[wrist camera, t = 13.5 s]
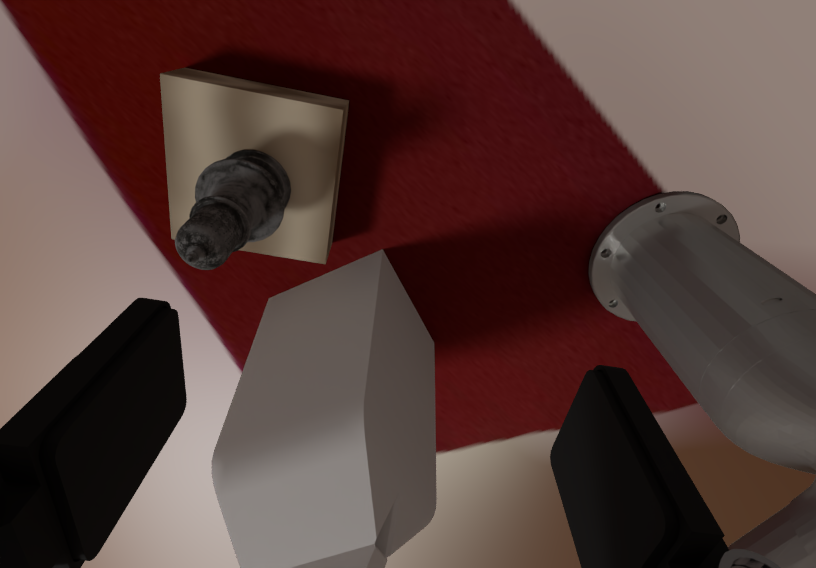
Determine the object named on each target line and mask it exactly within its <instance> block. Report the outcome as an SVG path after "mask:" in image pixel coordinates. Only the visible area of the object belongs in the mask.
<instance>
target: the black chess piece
mask: <svg viewBox="0 0 816 568" xmlns="http://www.w3.org/2000/svg"><path fill="white" fill-rule="evenodd" d="M290 194H291V185H290V180H289V177H288V175H287V173H286V171H285V170H284V168H283V167H282V165H281V164H280V163H279V162H278V161H277V160H275V159H274V158H273V157H272V156H270V155H268V154H266V153H264V152H261V151H257V150H240V151H237V152H234V153H233V154H231V155H230V156H228V157H227V158H226V159H223V160H220V161H216V162H214V163H212V164H211V165H209V166H208V167H206V168H205V169H204V170H203V172H202V173H201V174H200V176H199V177H198V180H197V183H196V186H195V200H196V203H195V204H194V206H193V207H192V208H191V211H190V214H189V219H188V220H187V221H186V222H185V223H184V224H183V225H182V226H181V227H180V229H179V230H178V232H177V235H176V238H175V246H176V249H177V252H178V253H179V255H180V257H181V258H182V259H183V260H184V261H185V262H186V263H188V264H189V265H191V266H193V267H195V268H198V269H203V270H211V269H215V268H217V267H218V266H220V265H222V264H223V263H224V262H225V261H226V260H227V258H228V257H229V256H230V254H231V253H232V252H234V251H238V250H239V249H241V248H243V247H244V246H245V244H246V243H247V242H256V241H260V240H264V239H265V238H267V237H269V236H270V235H272V234H273V233H274V232H275V231H276V230H277V229H278V228H279V226H280V224H281V222H282V219H283V217H284V209H285V207H286V206H287V204H288V202H289V199H290Z"/></svg>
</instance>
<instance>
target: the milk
mask: <svg viewBox="0 0 816 568" xmlns="http://www.w3.org/2000/svg"><path fill="white" fill-rule="evenodd" d="M212 478H213V484H214V488H215V491H216V495H217V498H218V501H219V505H220V508H221V510H222V514H223V517H224V520H225V523H226V526H227V529H228V532H229V535H230V538H231V541H232V544H233V547H234V550H235V553H236V556H237V559H238V563H239V565H240V568H384V567H385V565H386V562H387V558H386V557H388V556H390V555H391V554H393V553H394V552H395V551H396V550H397V549H399V548H400V547H401V546H402V545H403V544H405V543H406V542H407V541H409V540H410V539H411V538H412V537H413V536H415V535H416V534H417V533H418V532H420V531H421V530H422V529H423V528H424V527H426V526H427V525H428V524H429V522H430V521H431V520H432V518H433V516H434V513H435V509H436V433H435V357H434V341H433V340H432V338H431V336H430V334H429V332H428V331H427V329H426V327H425V325H424V323H423V322H422V320H421V318H420V316H419V314H418V312H417V311H416V309H415V307H414V305H413V303H412V302H411V300H410V298H409V296H408V294H407V293H406V291H405V289H404V287H403V285H402V283H401V282H400V280H399V278H398V276H397V274H396V273H395V271H394V269H393V267H392V265H391V264H390V262H389V260H388V258H387V256H386V254H385V253H384V251H383V249H382V250H380V251H378V252H375V253H373V254H371V255H368V256H366V257H364V258H361V259H359V260H357V261H355V262H352V263H350V264H348V265H345V266H343V267H341V268H338V269H336V270H334V271H331V272H329V273H327V274H324V275H322V276H320V277H317V278H315V279H313V280H311V281H308V282H306V283H304V284H301V285H299V286H297V287H294V288H292V289H290V290H287V291H285V292H283V293H280V294H278V295H276V296H274V297H271V298H269V300H268V302H267V305H266V308H265V311H264V314H263V316H262V319H261V322H260V325H259V328H258V330H257V333H256V336H255V339H254V341H253V344H252V347H251V350H250V353H249V355H248V358H247V361H246V364H245V366H244V369H243V372H242V375H241V378H240V380H239V383H238V386H237V389H236V392H235V395H234V397H233V400H232V403H231V406H230V408H229V411H228V414H227V417H226V420H225V422H224V425H223V428H222V430H221V433H220V436H219V439H218V442H217V444H216V447H215V450H214V454H213V459H212Z"/></svg>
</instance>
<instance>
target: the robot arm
mask: <svg viewBox="0 0 816 568" xmlns="http://www.w3.org/2000/svg"><path fill="white" fill-rule="evenodd" d="M657 204H658V205H657ZM588 274H589V280H590V285H591V287H592V290H593V292H594V294H595V296H596V297H597V298H598V300H599V301H600V303H601V304H602V305H603V306H604V307H605V308H606V309H607V310H608V311H610V312H611V313H613V314H615V315H616V316H618V317H621V318H624V319H626V320H631V321H637V322H638V324H639V325H640V326H641V328H642V329H643V330H644V332H645V333H646V334H647V336H648V337H649V338H650V340H651V341H652V342H653V344H654V345H655V346H656V348H657V349H658V350H659V351H660V353H661V354H662V355H663V357H664V358H665V359H666V361H667V362H668V363H669V365H670V366H671V367H672V369H673V370H674V371H675V373H676V374H677V375H678V377H679V378H680V379H681V381H682V382H683V383H684V384H685V386H686V387H687V388H688V390H689V391H690V392H691V394H692V395H693V396H694V398H695V399H696V400H697V402H698V403H699V404H700V406H701V407H702V408H703V410H704V411H705V412H706V413H707V414H708V416H709V417H710V418H711V419H712V421H713V422H714V424H715V425H716V426H717V427H718V428H719V429H720V430H721V431H722V433H723V434H724V435H725V436H726V437H727V438H729V439H730V440H731V441H732V442H733V443H734V444H736V445H737V446H739V447H740V448H742V449H743V450H745V451H747V452H748V453H750V454H752V455H754V456H757V457H759V458H762V459H764V460H766V461H769V462H771V463H775V464H778V465H781V466H784V467H788V468H792V469H795V470H799V471H804V472H807V473H812V474H816V294H815V293H813V292H812V291H810V290H808V289H807V288H806V287H804V286H803V285H801V284H800V283H798V282H797V281H795V280H794V279H792V278H791V277H790V276H788V275H787V274H785V273H784V272H782V271H781V270H779V269H778V268H776V267H775V266H773V265H772V264H770V263H769V262H767V261H766V260H764V259H763V258H762V257H760V256H759V255H757V254H755V253H754V252H753V251H751V250H750V249H748V248H747V247H745V246H744V245H742V244H741V243H740V235H739V230H738V226H737V223H736V221H735V220H734V218H733V216H732V214H731V213H730V212H729V211H728V210H727V209H726V208H725V207H724V206H723V205H721V204H719V203H718V202H716V201H715V200H713V199H711V198H709V197H707V196H704V195H702V194H698V193H693V192H688V191H686V192H684V191H683V192H668V193H662V194H658V195H655V196H652V197H649V198H646V199H644V200H642V201H640V202H638V203H636V204H634V205H632V206H630V207H629V208H628V209H626V210H625V211H623V212H622V213H621V214H619V215H618V216H617V217H616V218H615V219H614V220H613V221H612V222H611V223H610V224H609V225H608V226H607V227H606V228H605V230H604V231H603V233H602V234H601V235H600V237H599V238H598V240H597V242H596V244H595V246H594V248H593V250H592V254H591V257H590V261H589V273H588ZM185 407H186V389H185V379H184V369H183V359H182V348H181V338H180V328H179V319H178V312H177V311H176V310H175V309H171V307H170V304H169V303H168V302H166V301H160V300H153V299H147V298H138V299H136V300H135V301H134V302H133V303H132V304H131V305H130V306H129V307H128V308H127V309H126V310H125V311H123V312H122V313H121V314H120V315H119V316H118V317H117V318H116V319H115V320H114V321H113V322H112V323H111V324H110V325H109V326H108V327H107V328H106V329H105V330H104V331H103V332H102V333H101V334H100V335H99V336H98V337H97V338H95V339H94V341H92V342H91V343H90V344H89V345H88V346H87V347H86V348H85V349H84V350H83V351H82V352H81V353H80V354H79V355H78V356H76V357H75V358H74V359H72V361H71V362H69V363H68V364H67V365H66V366H65V367H64V368H63V369H62V370H61V371H60V372H59V373H58V374H57V375H56V376H55V377H54V378H53V379H52V380H51V381H50V382H49V383H48V384H47V385H46V386H44V387H43V388H42V389H41V390H40V391H39V392H38V393H37V394H36V395H35V396H34V397H33V398H32V399H31V400H30V401H29V402H28V403H27V404H26V405H25V406H24V407H23V408H22V409H21V410H20V411H19V412H17V413H16V414H15V415H14V416H13V417H12V418H11V419H10V420H9V421H8V422H7V423H6V424H5V425H4V426H3V427H2V428H1V429H0V568H81V566H82V564H83V563H84V561H85V560H87V561H90V560H92V559H94V558H95V557H96V556H97V554H98V553H99V551H100V550H101V548H102V546H103V545H104V543H105V542H106V540H107V538H108V537H109V535H110V533H111V532H112V530H113V528H114V527H115V525H116V524H117V522H118V520H119V518H120V517H121V515H122V514H123V512H124V510H125V509H126V507H127V506H128V504H129V502H130V501H131V499H132V497H133V496H134V494H135V492H136V491H137V489H138V487H139V486H140V484H141V483H142V481H143V479H144V478H145V476H146V474H147V472H148V471H149V469H150V467H151V466H152V464H153V463H154V461H155V459H156V458H157V456H158V455H159V453H160V451H161V450H162V448H163V446H164V445H165V443H166V442H167V440H168V438H169V437H170V435H171V433H172V432H173V430H174V428H175V427H176V425H177V423H178V422H179V420H180V419H181V417H182V415H183V413H184V410H185ZM550 459H551V466H552V469H553V472H554V476H555V480H556V483H557V486H558V489H559V493H560V496H561V500H562V503H563V507H564V510H565V513H566V517H567V520H568V523H569V527H570V530H571V533H572V537H573V540H574V544H575V547H576V551H577V554H578V557H579V561H580V564H581V567H582V568H816V478H815V480H814V482H813V483H812V484H811V486H810V487H809V488H808V489H806V490H805V491H804V492H802V493H801V494H800V495H799V496H797V497H796V498H794V499H793V500H792V501H791V502H790V504H789V505H787V506H786V507H784V508H783V509H781V510H780V511H778V512H777V513H776V514H774V515H773V516H771V517H770V518H768V519H767V520H766V521H764V522H763V523H761V524H760V525H758V526H757V527H755V528H754V529H752V530H751V531H750V532H748V533H747V534H745V535H744V536H742V537H741V538H740V539H738V540H737V541H735V542H734V543H732V544H731V545H730V546H729V547H727V545H726V544H725V542H724V540H723V539H722V538H723V537H724V534H723V532H722V531H721V529H720V527H719V525H718V524H717V522H716V520H715V519H714V517H713V515H712V513H711V512H710V510H709V508H708V507H707V505H706V503H705V502H704V500H703V498H702V497H701V495H700V493H699V492H698V490H697V488H696V487H695V485H694V483H693V481H692V480H691V478H690V477H689V475H688V473H687V471H686V470H685V468H684V466H683V465H682V463H681V461H680V460H679V458H678V456H677V455H676V453H675V451H674V449H673V448H672V446H671V444H670V443H669V441H668V440H667V438H666V436H665V434H664V433H663V431H662V429H661V428H660V426H659V424H658V423H657V421H656V419H655V418H654V416H653V414H652V412H651V411H650V409H649V407H648V406H647V404H646V402H645V401H644V399H643V397H642V396H641V394H640V392H639V391H638V389H637V387H636V386H635V384H634V382H633V380H632V379H631V377H630V375H629V374H628V372H627V371H626V370H625V369H623V368H617V367H610V366H603V365H598V366H596V367H595V368H594V370H589V371H587V373H586V374H585V376H584V379H583V381H582V383H581V385H580V387H579V390H578V392H577V394H576V396H575V398H574V401H573V403H572V405H571V407H570V409H569V412H568V414H567V416H566V418H565V420H564V423H563V425H562V427H561V429H560V431H559V434H558V436H557V438H556V440H555V442H554V445H553V447H552V450H551V456H550Z"/></svg>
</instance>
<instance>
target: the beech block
mask: <svg viewBox="0 0 816 568" xmlns="http://www.w3.org/2000/svg"><path fill="white" fill-rule="evenodd" d="M160 83H161V97H162V111H163V125H164V139H165V153H166V167H167V182H168V196H169V210H170V224H171V238H172V239H175V238H176V235H177V232H178V230H179V229H180V227H181V226H182V225H183V224H184V223H185V222H186V221H187V220H188V219H189V214H190V211H191V208H192V207H193V206H194V204H195V203H196V200H195V186H196V183H197V180H198V177H199V176H200V174H201V173H202V172H203V170H204V169H205V168H206V167H208V166H209V165H211V164H212V163H214V162H216V161H220V160H223V159H226V158H227V157H228V156H230V155H231V154H233V153H234V152H237V151H240V150H257V151H261V152H264V153H266V154H268V155H270V156H272V157H273V158H274V159H275V160H277V161H278V162H279V163H280V164H281V165H282V167H283V168H284V170H285V171H286V173H287V175H288V177H289V180H290V185H291V194H290V199H289V202H288V204H287V206H286V207H285V209H284V217H283V219H282V222H281V224H280V226H279V228H278V229H277V230H276V231H275V232H274V233H273V234H272V235H270V236H269V237H267V238H265V239H264V240H260V241H256V242H247V243H246V244H245V246H244V247H243V248H241V249H239V250H242V251H248V252H254V253H261V254H267V255H273V256H279V257H285V258H291V259H297V260H303V261H309V262H315V263H322V264H326V261H327V258H328V255H329V251H330V248H331V245H332V240H333V232H334V224H335V215H336V207H337V199H338V190H339V182H340V174H341V166H342V157H343V149H344V141H345V132H346V124H347V116H348V107H349V100H344V99H339V98H334V97H329V96H324V95H319V94H314V93H309V92H304V91H299V90H294V89H289V88H284V87H279V86H274V85H269V84H264V83H259V82H254V81H249V80H244V79H239V78H234V77H229V76H224V75H219V74H214V73H209V72H204V71H199V70H194V69H189V68H181V69H177V70H173V71H169V72H165V73H161V74H160Z"/></svg>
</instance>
